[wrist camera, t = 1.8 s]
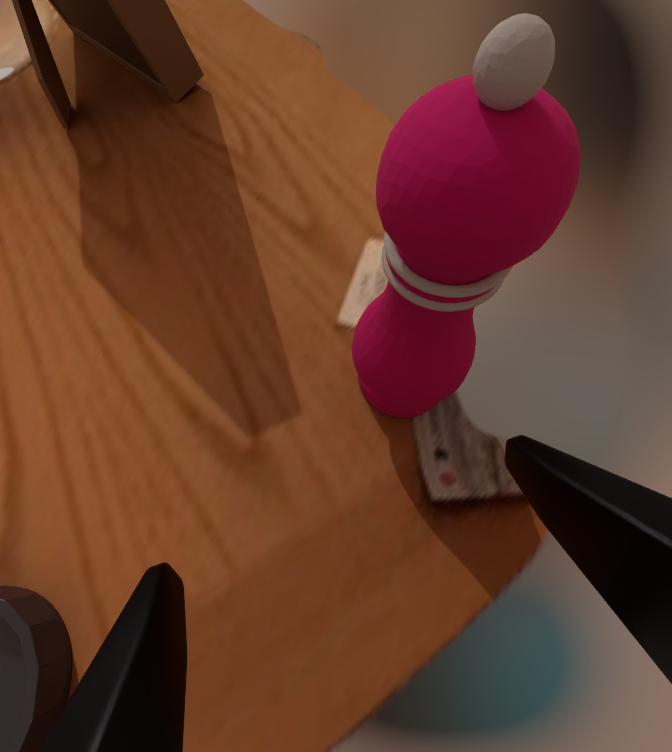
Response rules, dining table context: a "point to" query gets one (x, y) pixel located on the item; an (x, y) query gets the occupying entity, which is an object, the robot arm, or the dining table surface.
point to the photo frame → (114, 44)
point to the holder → (31, 669)
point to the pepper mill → (462, 213)
